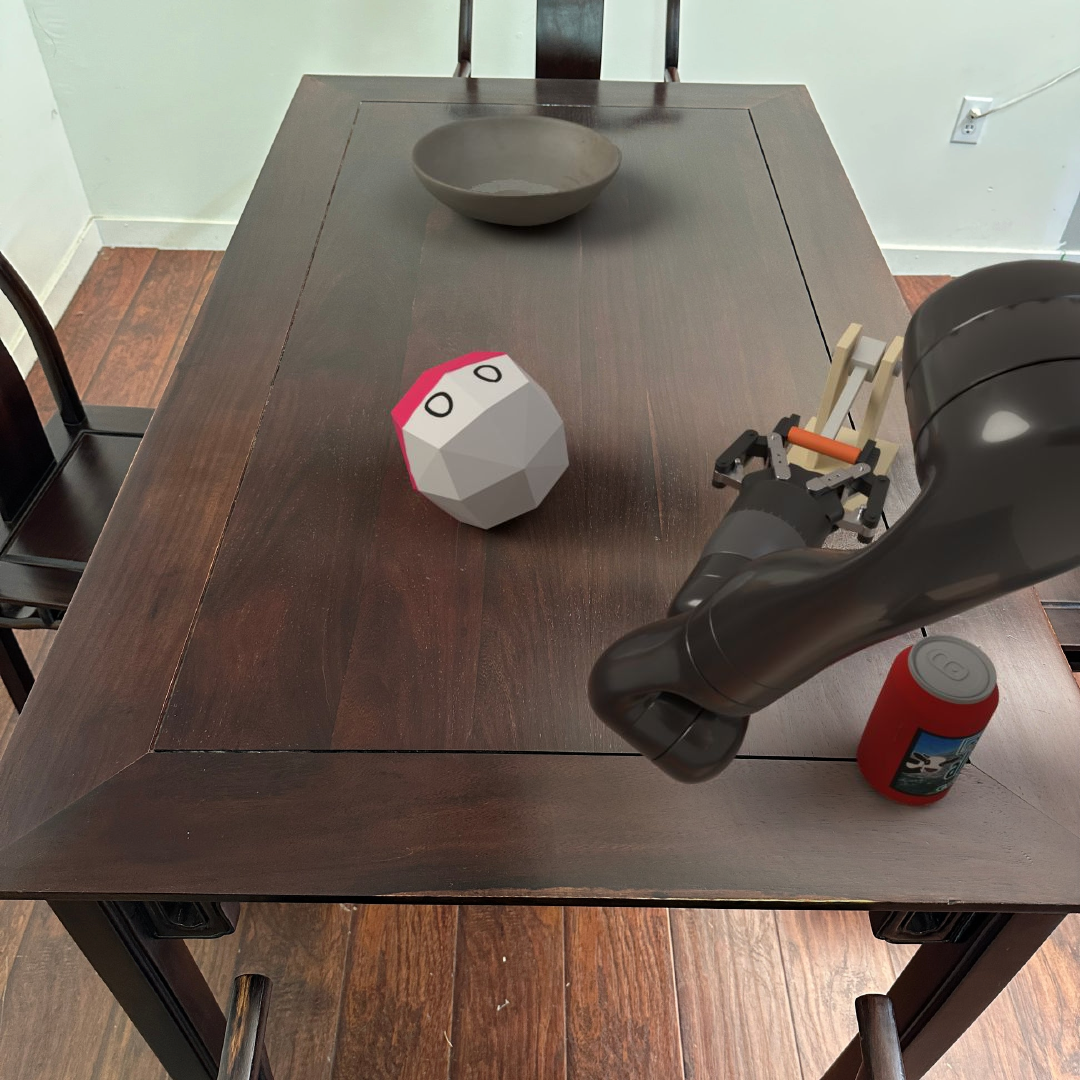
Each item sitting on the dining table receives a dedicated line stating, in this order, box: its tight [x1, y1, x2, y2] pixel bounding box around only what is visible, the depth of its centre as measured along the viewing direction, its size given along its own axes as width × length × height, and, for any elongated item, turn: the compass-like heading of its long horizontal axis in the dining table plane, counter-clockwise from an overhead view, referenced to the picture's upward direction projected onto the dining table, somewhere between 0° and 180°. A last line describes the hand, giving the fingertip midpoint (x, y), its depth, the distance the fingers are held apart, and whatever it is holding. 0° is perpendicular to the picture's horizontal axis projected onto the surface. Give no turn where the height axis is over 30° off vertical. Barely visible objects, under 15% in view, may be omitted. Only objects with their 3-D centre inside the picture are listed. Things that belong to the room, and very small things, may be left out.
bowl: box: [410, 114, 623, 227], centre depth 131 cm, size 27×28×8 cm
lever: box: [787, 335, 888, 465], centre depth 83 cm, size 12×6×2 cm, turn 149°
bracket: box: [786, 322, 904, 513], centre depth 89 cm, size 12×9×15 cm
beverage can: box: [856, 634, 1000, 807], centre depth 65 cm, size 7×7×12 cm
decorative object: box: [390, 350, 570, 530], centre depth 86 cm, size 15×15×15 cm
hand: (831, 435), depth 83 cm, fingers open, 6 cm apart
